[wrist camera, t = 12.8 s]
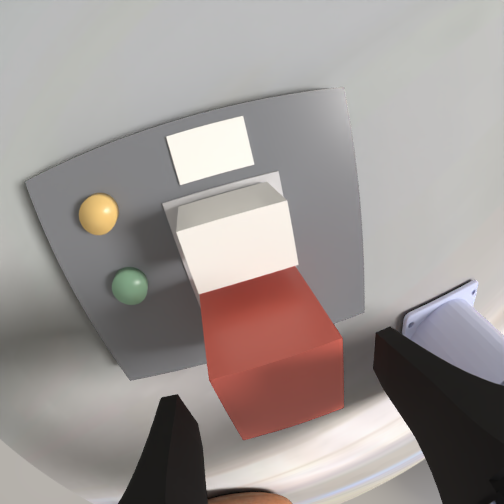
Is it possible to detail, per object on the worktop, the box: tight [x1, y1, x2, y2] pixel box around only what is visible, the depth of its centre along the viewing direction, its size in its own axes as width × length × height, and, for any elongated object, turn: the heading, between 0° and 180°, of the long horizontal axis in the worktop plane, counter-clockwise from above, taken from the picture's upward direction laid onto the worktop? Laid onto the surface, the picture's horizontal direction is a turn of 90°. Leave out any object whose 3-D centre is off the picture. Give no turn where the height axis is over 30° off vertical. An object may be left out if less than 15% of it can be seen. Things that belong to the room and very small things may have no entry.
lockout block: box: [199, 266, 344, 440], centre depth 12 cm, size 4×4×6 cm
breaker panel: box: [25, 87, 364, 381], centre depth 14 cm, size 12×14×2 cm
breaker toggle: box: [176, 182, 299, 294], centre depth 11 cm, size 2×4×3 cm, turn 103°
